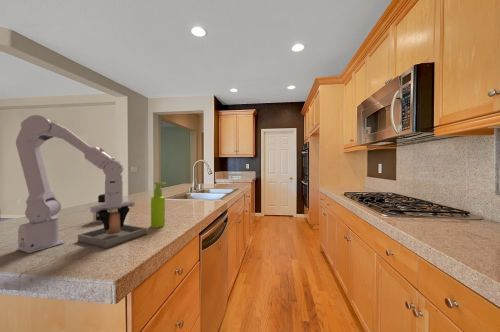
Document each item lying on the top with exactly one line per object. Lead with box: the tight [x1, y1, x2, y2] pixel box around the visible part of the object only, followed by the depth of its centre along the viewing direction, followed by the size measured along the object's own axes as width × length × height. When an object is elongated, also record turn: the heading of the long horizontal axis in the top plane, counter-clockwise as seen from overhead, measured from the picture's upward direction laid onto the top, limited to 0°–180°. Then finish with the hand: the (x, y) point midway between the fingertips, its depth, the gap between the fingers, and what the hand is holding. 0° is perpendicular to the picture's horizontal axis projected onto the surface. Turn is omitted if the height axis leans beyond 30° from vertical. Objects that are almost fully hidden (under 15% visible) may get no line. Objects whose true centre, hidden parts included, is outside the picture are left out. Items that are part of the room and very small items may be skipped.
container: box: [92, 193, 118, 223], centre depth 107 cm, size 8×8×13 cm
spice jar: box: [106, 211, 121, 234], centre depth 82 cm, size 5×5×8 cm
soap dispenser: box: [150, 181, 167, 228], centre depth 98 cm, size 6×7×20 cm
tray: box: [77, 223, 148, 250], centre depth 82 cm, size 16×16×2 cm
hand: (113, 227), depth 82 cm, fingers closed on spice jar, 4 cm apart
